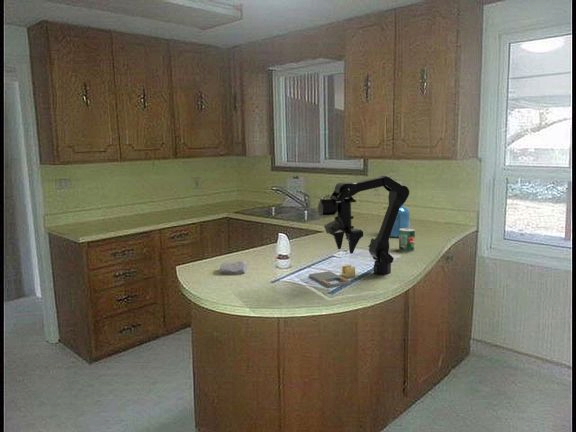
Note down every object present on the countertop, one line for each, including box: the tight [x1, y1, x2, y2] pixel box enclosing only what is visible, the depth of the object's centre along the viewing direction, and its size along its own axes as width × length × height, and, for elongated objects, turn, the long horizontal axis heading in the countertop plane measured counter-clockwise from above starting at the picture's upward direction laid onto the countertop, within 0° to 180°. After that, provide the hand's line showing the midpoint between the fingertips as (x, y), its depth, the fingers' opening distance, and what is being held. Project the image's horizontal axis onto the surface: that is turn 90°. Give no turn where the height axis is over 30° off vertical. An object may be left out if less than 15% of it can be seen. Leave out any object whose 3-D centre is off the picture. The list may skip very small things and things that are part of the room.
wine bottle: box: [390, 204, 411, 239], centre depth 278 cm, size 14×13×30 cm
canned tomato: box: [398, 227, 416, 253], centre depth 243 cm, size 8×8×11 cm
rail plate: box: [308, 270, 352, 289], centre depth 191 cm, size 10×17×2 cm, turn 24°
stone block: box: [219, 260, 248, 275], centre depth 210 cm, size 12×5×10 cm
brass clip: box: [341, 264, 356, 278], centre depth 196 cm, size 4×4×4 cm
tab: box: [338, 273, 359, 280], centre depth 196 cm, size 6×7×1 cm
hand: (345, 251), depth 193 cm, fingers open, 9 cm apart
